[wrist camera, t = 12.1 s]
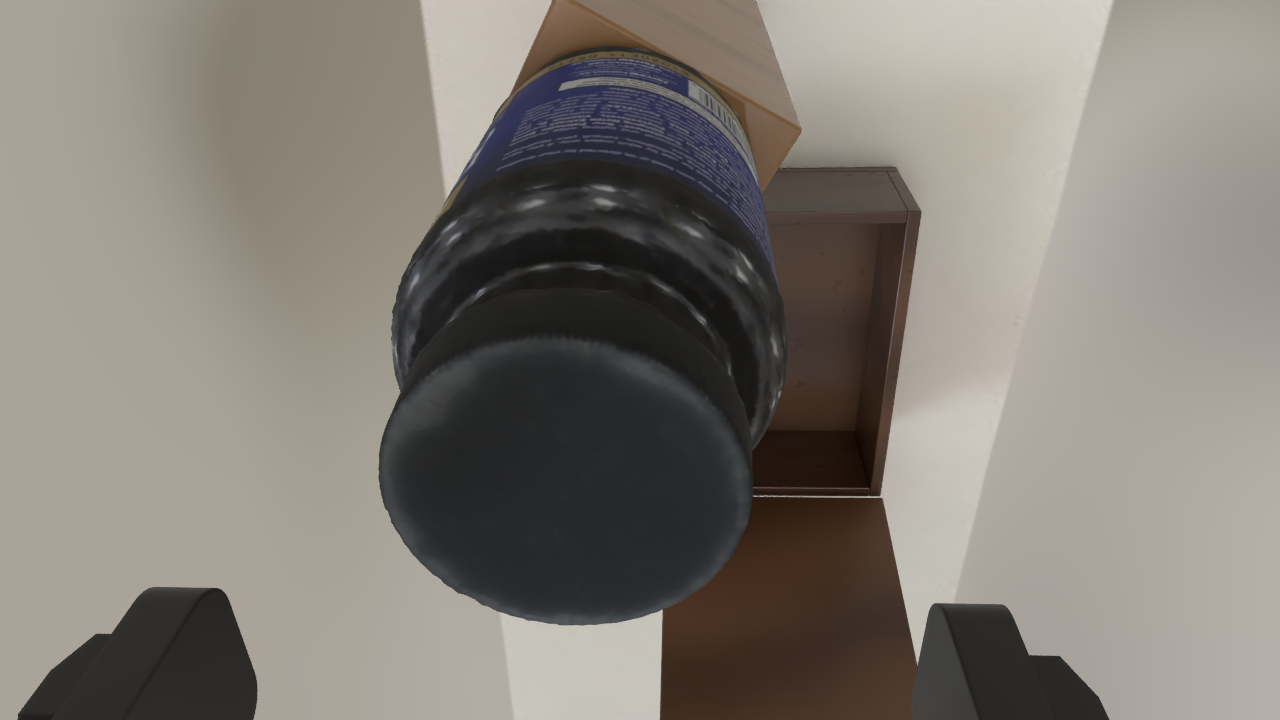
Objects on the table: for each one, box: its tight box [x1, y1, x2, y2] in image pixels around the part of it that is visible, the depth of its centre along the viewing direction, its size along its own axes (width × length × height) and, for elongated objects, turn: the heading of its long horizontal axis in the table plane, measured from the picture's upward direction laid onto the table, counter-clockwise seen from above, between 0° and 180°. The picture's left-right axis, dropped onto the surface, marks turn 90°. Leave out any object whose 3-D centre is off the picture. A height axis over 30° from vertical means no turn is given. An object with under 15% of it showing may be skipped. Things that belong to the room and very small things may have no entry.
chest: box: [752, 167, 921, 496], centre depth 54 cm, size 19×13×7 cm
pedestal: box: [510, 0, 802, 194], centre depth 34 cm, size 6×6×31 cm
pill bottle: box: [379, 46, 788, 625], centre depth 16 cm, size 6×6×11 cm
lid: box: [660, 497, 917, 720], centre depth 48 cm, size 20×13×1 cm
